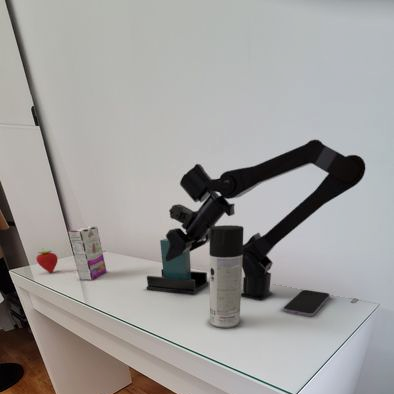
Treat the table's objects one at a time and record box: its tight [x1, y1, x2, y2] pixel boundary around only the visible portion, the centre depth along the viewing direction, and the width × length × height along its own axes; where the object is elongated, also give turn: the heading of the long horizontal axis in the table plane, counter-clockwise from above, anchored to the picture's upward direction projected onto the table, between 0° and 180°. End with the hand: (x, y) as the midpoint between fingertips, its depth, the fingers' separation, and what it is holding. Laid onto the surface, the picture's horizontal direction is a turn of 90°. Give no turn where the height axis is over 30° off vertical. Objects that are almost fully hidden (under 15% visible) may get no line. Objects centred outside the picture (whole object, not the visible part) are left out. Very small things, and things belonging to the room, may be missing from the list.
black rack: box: [146, 268, 209, 296], centre depth 88 cm, size 16×11×4 cm
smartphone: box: [282, 289, 331, 317], centre depth 72 cm, size 7×1×15 cm
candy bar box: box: [68, 225, 108, 281], centre depth 101 cm, size 11×5×16 cm, turn 168°
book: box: [159, 238, 192, 279], centre depth 86 cm, size 3×8×13 cm, turn 65°
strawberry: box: [36, 248, 58, 274], centre depth 110 cm, size 6×8×10 cm
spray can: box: [208, 224, 245, 329], centre depth 59 cm, size 7×7×20 cm
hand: (174, 257), depth 85 cm, fingers open, 9 cm apart
